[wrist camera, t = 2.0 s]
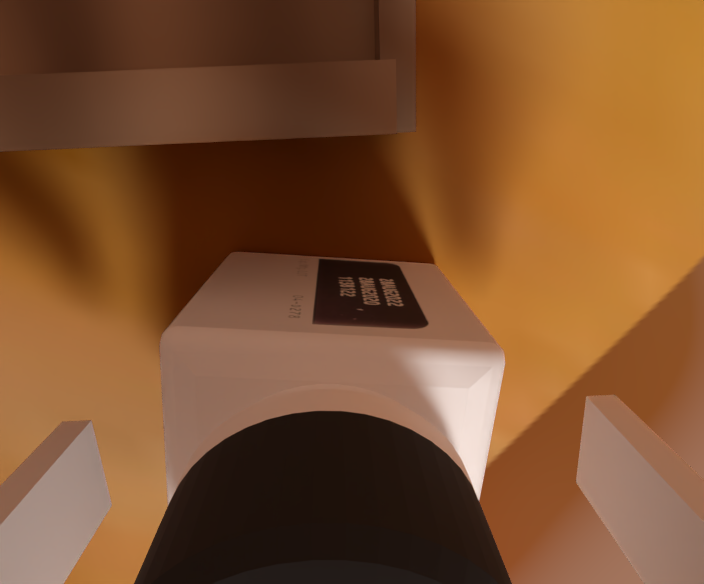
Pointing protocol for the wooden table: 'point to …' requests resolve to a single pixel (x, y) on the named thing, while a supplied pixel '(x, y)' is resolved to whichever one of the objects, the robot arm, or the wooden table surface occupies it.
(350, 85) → the rack
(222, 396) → the container
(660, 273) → the wooden table surface
